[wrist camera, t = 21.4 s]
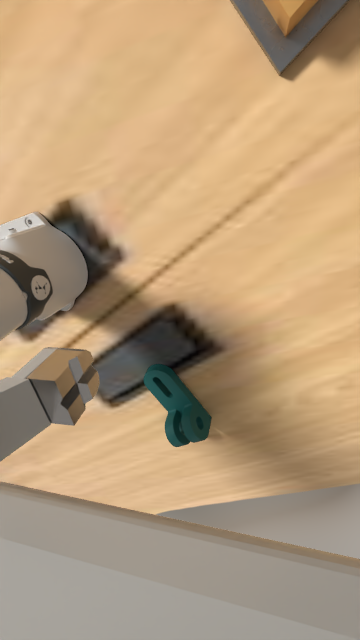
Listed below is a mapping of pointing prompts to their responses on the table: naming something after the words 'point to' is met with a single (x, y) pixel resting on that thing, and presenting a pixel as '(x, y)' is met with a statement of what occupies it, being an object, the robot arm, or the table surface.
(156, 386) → the bracket
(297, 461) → the table surface
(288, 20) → the frame on grey plate
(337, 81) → the table surface
